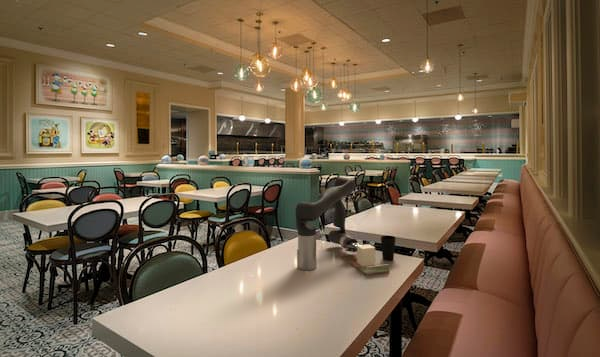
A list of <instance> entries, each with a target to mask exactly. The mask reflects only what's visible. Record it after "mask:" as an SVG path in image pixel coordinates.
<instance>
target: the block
mask: <svg viewBox="0 0 600 357" xmlns="http://www.w3.org/2000/svg"><path fill="white" fill-rule="evenodd" d="M356 254H357V263H358V264H359V265H361V266H362V267H364V266H371V265H375V262H376V247H375V246H374V245H371V244H370V243H369V244H366V245H363V244H361V245H359V246H357V252H356Z"/></svg>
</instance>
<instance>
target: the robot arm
mask: <svg viewBox="0 0 600 357" xmlns="http://www.w3.org/2000/svg"><path fill="white" fill-rule="evenodd" d="M355 188H356V182H355V180H354V179H352V178H348V177H343V176H338V177H336V179H335V181H334V186H332V187H328V188H326V189H324V190H322V191H321V192H320V193H319V195H318V199H317V201H315V202H307V201H300V202H298V203H297V205H296V207H295V225H296V227H295V228H296V230H297V250H296V260H297V261H296V263H297V264H296V265H297V269H300V270H303V271H312V270H315V269H317V265H318V263H317V228H316V227H314V226H313V225H311V224H310V222H315V221H317V220H318V219H319V218H320V217H321V216H322V215H323V214H324V213H325V211H327V210H328V209H330V208H331V207H332V206H334V212H333V220H332V221H333V222H332V224H333V226H334V227H335V228H338V229H339V230H330V231H329V233H328V235H327V237H328V240H329V242H331V243H333V244H336V245H340V246H341V247H342V248H344V251H345V252H349V253H350V252H351V253H357V246H359V245H367V244H366V243H363V244H361V243H359V241H358V240H357V239H356V238H355V237H352V236H350V235H348V234H347V233H346V226H345V225H346V218H347V213H346V209H345V206H344V203H343V201H342V199H343V198H345V197H347V196H349V195H351V194H352V193H353V192H354V190H355Z"/></svg>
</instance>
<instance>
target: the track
mask: <svg viewBox="0 0 600 357" xmlns="http://www.w3.org/2000/svg"><path fill="white" fill-rule="evenodd" d="M341 258H342V259H344V260H345V261H346V262H347V263H349V264H350V266H351V265H352V266H353V267H354V268H356V269H357V270H358V271H359V272H361V273H362V274H364V275H365V276H366V277H367V276H374V275H375V276H376V275H382V274H390V264H389V263H385V264H379V263H377V262H376V261H375V265H371V266H364V267H362V266H361V265H359V264H358V263H357V253H354V254H353V253H352V254H345V255H341Z"/></svg>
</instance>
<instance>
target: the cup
mask: <svg viewBox="0 0 600 357" xmlns="http://www.w3.org/2000/svg"><path fill="white" fill-rule="evenodd" d="M396 239H397V238H396V236H394V235H381V236H380V242H381V254H382V260H383V261H385V262H391V261H394V258H395V257H394V256H395V249H396V248H395V247H396Z"/></svg>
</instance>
